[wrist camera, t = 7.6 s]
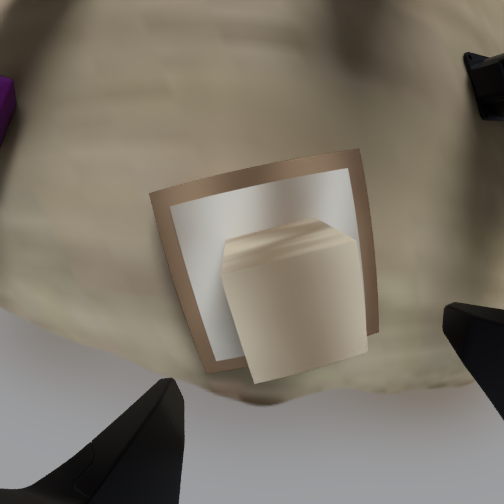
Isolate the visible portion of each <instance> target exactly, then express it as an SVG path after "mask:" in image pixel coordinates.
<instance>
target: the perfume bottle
mask: <svg viewBox="0 0 504 504" xmlns="http://www.w3.org/2000/svg"><path fill="white" fill-rule="evenodd" d="M15 106H16V96H15V89H14V81H13V80H12V79H10V78H7V77H4V76H1V75H0V147H1V144H2V141H3V138H4V135H5V132H6V129H7V126H8V124H9V121H10V119H11V116H12V114H13V111H14V109H15Z"/></svg>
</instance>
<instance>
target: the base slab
mask: <svg viewBox="0 0 504 504" xmlns="http://www.w3.org/2000/svg"><path fill="white" fill-rule="evenodd" d="M149 195H150V199H151V203H152V207H153V211H154V215H155V219H156V223H157V226H158V230H159V234H160V237H161V241H162V244H163V248H164V251H165V255H166V258H167V262H168V265H169V268H170V272H171V275H172V278H173V281H174V284H175V288H176V291H177V294H178V297H179V300H180V303H181V306H182V309H183V312H184V315H185V318H186V321H187V324H188V327H189V329H190V332H191V335H192V338H193V341H194V343H195V346H196V349H197V351H198V354H199V357H200V359H201V362H202V365H203V367H204V370H205V372H206V374H209V373H215V372H221V371H227V370H232V369H238V368H243V367H248V363H247V360H246V357H245V354H244V351H243V348H242V345H241V342H240V338H239V335H238V332H237V329H236V326H235V323H234V319H233V316H232V313H231V310H230V307H229V303H228V300H227V297H226V294H225V290H224V287H223V284H222V280H221V277H220V274H221V267H222V261H223V254H224V247H225V241H226V239H230V238H234V237H238V236H241V235H245V234H249V233H253V232H257V231H261V230H265V229H269V228H273V227H277V226H281V225H285V224H289V223H293V222H297V221H301V220H305V219H310V218H314V217H315V218H317V219H319V220H320V221H322V222H324V223H326V224H328V225H330V226H331V227H333V228H335V229H337V230H338V231H340V232H342V233H344V234H346V235H347V236H349V237H351V238H353V239H354V240H356V241H357V247H358V254H359V261H360V269H361V277H362V286H363V296H364V306H365V318H366V331H367V336H368V335H371V334H375V333H378V332H379V315H378V291H377V275H376V262H375V251H374V241H373V232H372V224H371V216H370V209H369V202H368V195H367V189H366V182H365V176H364V171H363V165H362V160H361V155H360V150H359V149H353V150H346V151H339V152H333V153H326V154H320V155H314V156H308V157H303V158H297V159H291V160H286V161H281V162H276V163H271V164H266V165H261V166H256V167H251V168H247V169H242V170H238V171H233V172H229V173H225V174H220V175H216V176H212V177H208V178H204V179H200V180H196V181H192V182H188V183H184V184H181V185H177V186H173V187H170V188H166V189H163V190H159V191H156V192H152V193H149Z"/></svg>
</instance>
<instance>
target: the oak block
mask: <svg viewBox="0 0 504 504" xmlns="http://www.w3.org/2000/svg"><path fill="white" fill-rule="evenodd" d="M220 277H221V280H222V284H223V287H224V290H225V294H226V297H227V300H228V303H229V307H230V310H231V313H232V316H233V319H234V323H235V326H236V329H237V332H238V335H239V338H240V342H241V345H242V348H243V351H244V354H245V357H246V360H247V363H248V366H249V369H250V372H251V375H252V378H253V381H254V384H257V383H261V382H266V381H270V380H274V379H279V378H283V377H287V376H291V375H294V374H298V373H302V372H306V371H309V370H313V369H316V368H320V367H323V366H326V365H330V364H333V363H336V362H339V361H343V360H346V359H349V358H352V357H355V356H358V355H361V354H364V353H366V352H368V348H367V331H366V318H365V306H364V296H363V286H362V277H361V269H360V261H359V254H358V247H357V241H356V240H354V239H353V238H351V237H349V236H347V235H346V234H344V233H342V232H340V231H338V230H337V229H335V228H333V227H331V226H330V225H328V224H326V223H324V222H322V221H320V220H319V219H317V218H315V217H314V218H310V219H305V220H301V221H297V222H293V223H289V224H285V225H281V226H277V227H273V228H269V229H265V230H261V231H257V232H253V233H249V234H245V235H241V236H238V237H234V238H230V239H226V241H225V247H224V254H223V261H222V267H221V274H220Z"/></svg>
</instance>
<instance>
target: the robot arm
mask: <svg viewBox="0 0 504 504" xmlns="http://www.w3.org/2000/svg"><path fill="white" fill-rule="evenodd" d="M464 58H465V61H466V64H467V67H468V70H469V74H470V77H471V80H472V84H473V87H474V91H475V95H476V98H477V102H478V107H479V111H480V115H481V117H482V119H483V120H490V121H504V53H503V54H500V55H497V56H493V57H490V58H489V57H485V56H482V55H478V54H474V53H470V52H467V53H464ZM442 328H443V332H444V334H445V336H446V337H447V339H448V340H449V342H450V343H451V345H452V347H453V348H454V350H455V351H456V353H457V355H458V356H459V358H460V359H461V361H462V363H463V364H464V365H465V367H466V368H467V370H468V371H469V372H470V373H471V375H472V376H473V377H474V379H475V380H476V381H477V383H478V384H479V385H480V387H481V388H482V390H483V391H484V392H485V394H486V395H487V397H488V398H489V399H490V401H491V402H492V404H493V405H494V407H495V408H496V410H497V411H498V412H499V414H500V415H501V417H502V418H503V420H504V310H502V309H496V308H489V307H483V306H477V305H470V304H464V303H458V302H453V303H451V304H449V305H446V306H445V308H444V315H443V325H442ZM184 437H185V435H184V399H183V396H182V394H181V392H180V390H179V388H178V386H177V384H176V381H175V380H174V379H173V378H164V379H160V380H159V381H158V382H157V383H156V384H155V385H153V386H152V387H151V388H150V389H149V390H148V391H147V392H146V393H145V394H144V395H143V396H141V397H140V398H139V399H138V400H137V401H136V402H135V403H134V404H133V405H131V406H130V407H129V408H128V409H127V410H126V411H125V412H124V413H123V414H122V415H120V416H119V417H118V418H117V419H116V420H115V421H114V422H113V423H111V424H110V425H109V426H108V427H107V428H106V429H105V430H104V431H102V432H101V433H100V434H99V435H98V436H97V437H96V438H94V439H93V440H92V443H91V442H90V443H89V444H87V445H86V446H85V447H84V448H83V449H82V450H80V451H79V452H78V453H77V454H76V455H74V456H73V457H72V458H71V459H69V460H68V461H67V462H65V463H64V464H62V465H61V466H60V467H58V468H57V469H55V470H54V471H52V472H51V473H49V474H48V475H46V476H45V477H44V478H42V479H40V480H39V481H37V482H36V483H34V484H33V485H31V486H29V487H26V488H22V489H0V504H179V494H180V482H181V471H182V463H183V452H184V440H185V439H184Z"/></svg>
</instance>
